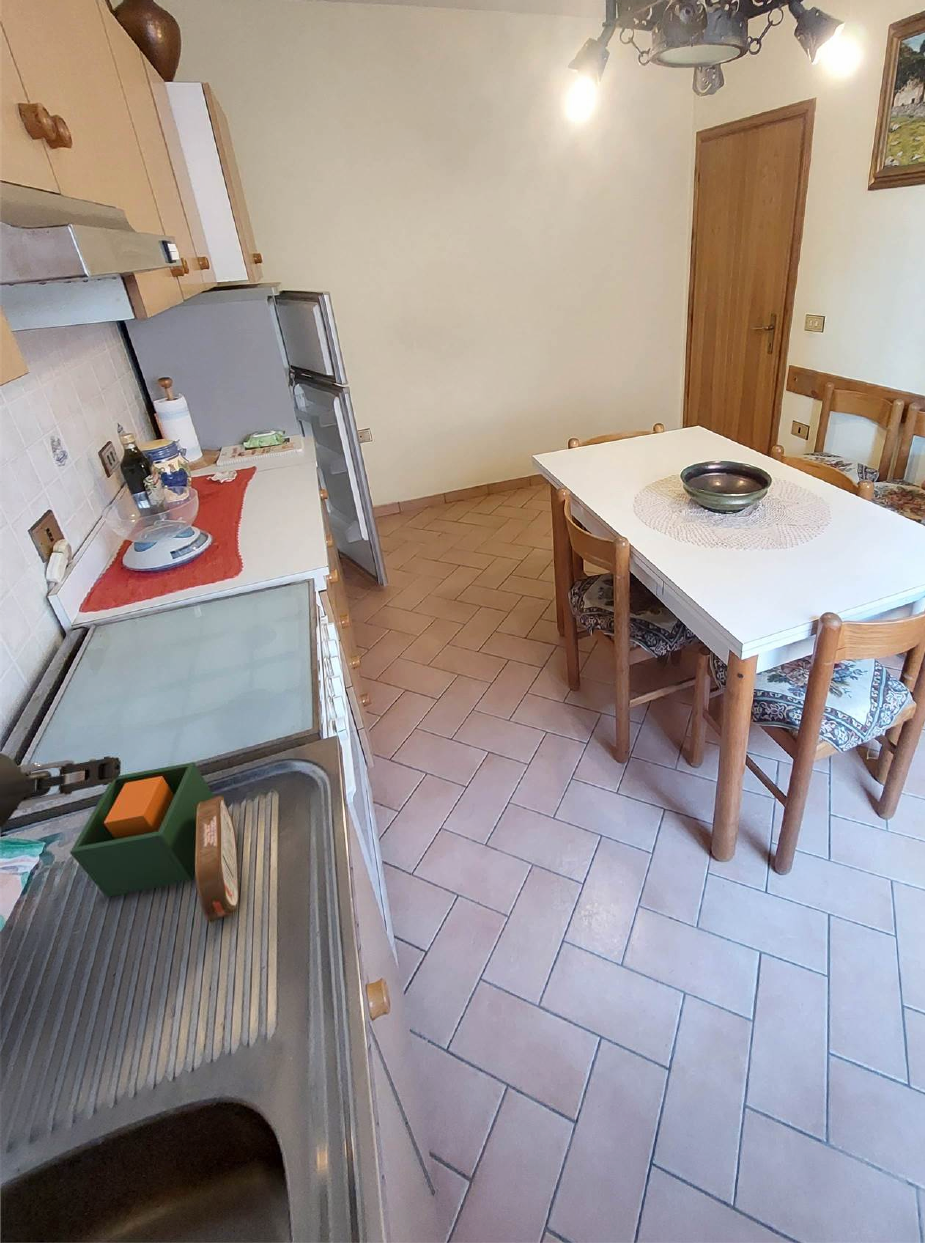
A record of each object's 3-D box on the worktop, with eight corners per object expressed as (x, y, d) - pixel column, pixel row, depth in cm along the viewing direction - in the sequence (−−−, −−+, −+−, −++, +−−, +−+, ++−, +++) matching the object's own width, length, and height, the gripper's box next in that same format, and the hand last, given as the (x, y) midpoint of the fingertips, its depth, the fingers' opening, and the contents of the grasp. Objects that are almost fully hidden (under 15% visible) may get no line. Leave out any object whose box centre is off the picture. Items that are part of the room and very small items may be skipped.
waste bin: (106, 897, 72) (69, 852, 68) (144, 820, 81) (113, 776, 77) (192, 880, 73) (161, 835, 69) (219, 806, 82) (194, 761, 77)
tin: (215, 830, 79) (191, 790, 75) (240, 818, 80) (218, 779, 76) (216, 939, 67) (187, 899, 63) (245, 924, 68) (219, 883, 64)
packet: (139, 871, 74) (103, 823, 69) (157, 830, 79) (125, 783, 74) (176, 863, 75) (143, 815, 70) (192, 823, 80) (162, 775, 75)
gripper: (26, 741, 50) (143, 727, 65) (-157, 773, 48) (7, 751, 64) (20, 837, 48) (142, 800, 63) (-172, 874, 46) (1, 826, 62)
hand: (74, 775), depth 64 cm, fingers open, 8 cm apart
